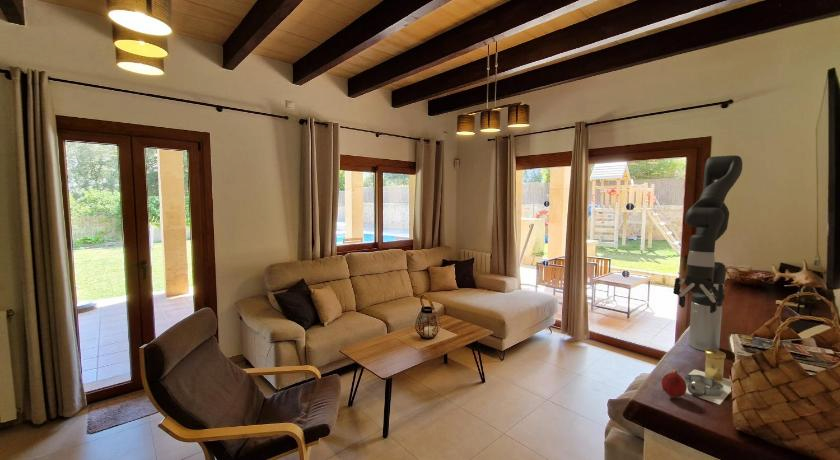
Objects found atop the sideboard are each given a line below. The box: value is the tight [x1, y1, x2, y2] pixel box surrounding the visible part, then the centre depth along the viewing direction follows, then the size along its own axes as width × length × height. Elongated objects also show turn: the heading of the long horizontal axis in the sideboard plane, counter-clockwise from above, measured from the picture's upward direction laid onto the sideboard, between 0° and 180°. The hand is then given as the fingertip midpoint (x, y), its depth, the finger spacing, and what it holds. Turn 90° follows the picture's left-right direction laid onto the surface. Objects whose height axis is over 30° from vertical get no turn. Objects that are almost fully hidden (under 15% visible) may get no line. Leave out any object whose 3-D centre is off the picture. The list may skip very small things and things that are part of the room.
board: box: [682, 368, 733, 408], centre depth 108 cm, size 20×11×1 cm, turn 128°
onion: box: [661, 369, 687, 399], centre depth 103 cm, size 6×6×8 cm
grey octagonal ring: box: [683, 373, 723, 398], centre depth 105 cm, size 11×9×4 cm
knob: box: [704, 349, 727, 381], centre depth 113 cm, size 5×5×8 cm
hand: (696, 309), depth 129 cm, fingers open, 8 cm apart
